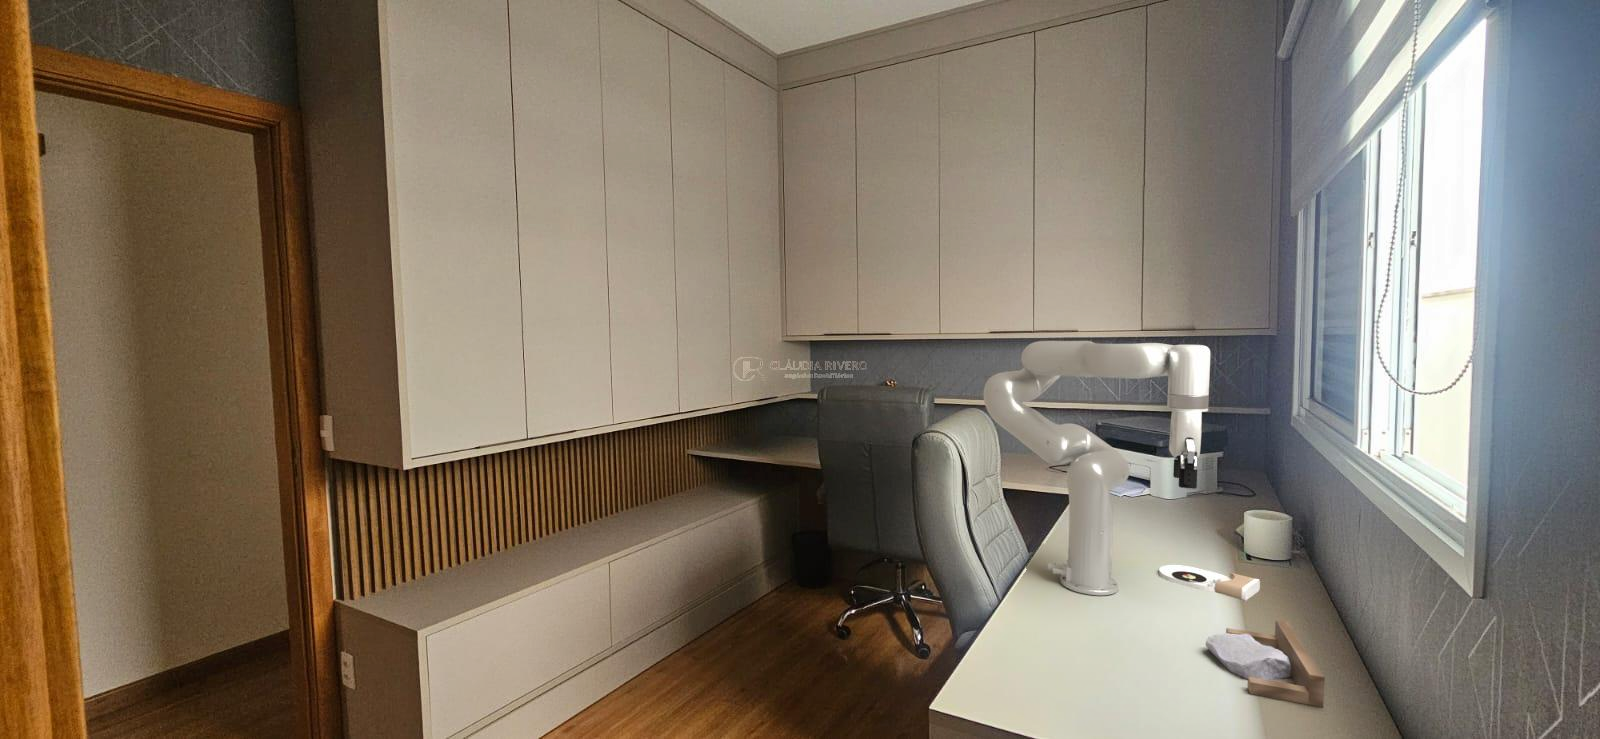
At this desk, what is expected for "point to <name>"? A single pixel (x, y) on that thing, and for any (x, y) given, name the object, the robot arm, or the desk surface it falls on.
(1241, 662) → the stone block
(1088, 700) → the desk surface
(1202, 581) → the record player
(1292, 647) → the walnut frame
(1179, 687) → the desk surface
